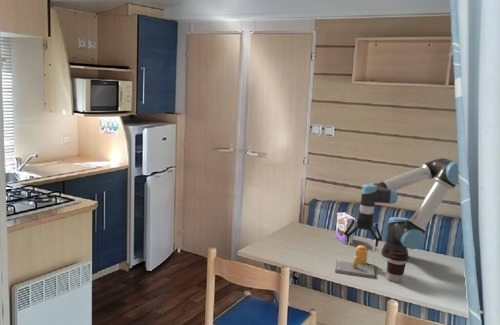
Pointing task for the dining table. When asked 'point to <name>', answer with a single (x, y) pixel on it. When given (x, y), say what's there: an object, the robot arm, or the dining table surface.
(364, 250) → the wire nut
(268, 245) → the dining table surface
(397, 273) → the coffee cup
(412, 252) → the dining table surface
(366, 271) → the plate
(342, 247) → the dining table surface
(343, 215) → the candy box
